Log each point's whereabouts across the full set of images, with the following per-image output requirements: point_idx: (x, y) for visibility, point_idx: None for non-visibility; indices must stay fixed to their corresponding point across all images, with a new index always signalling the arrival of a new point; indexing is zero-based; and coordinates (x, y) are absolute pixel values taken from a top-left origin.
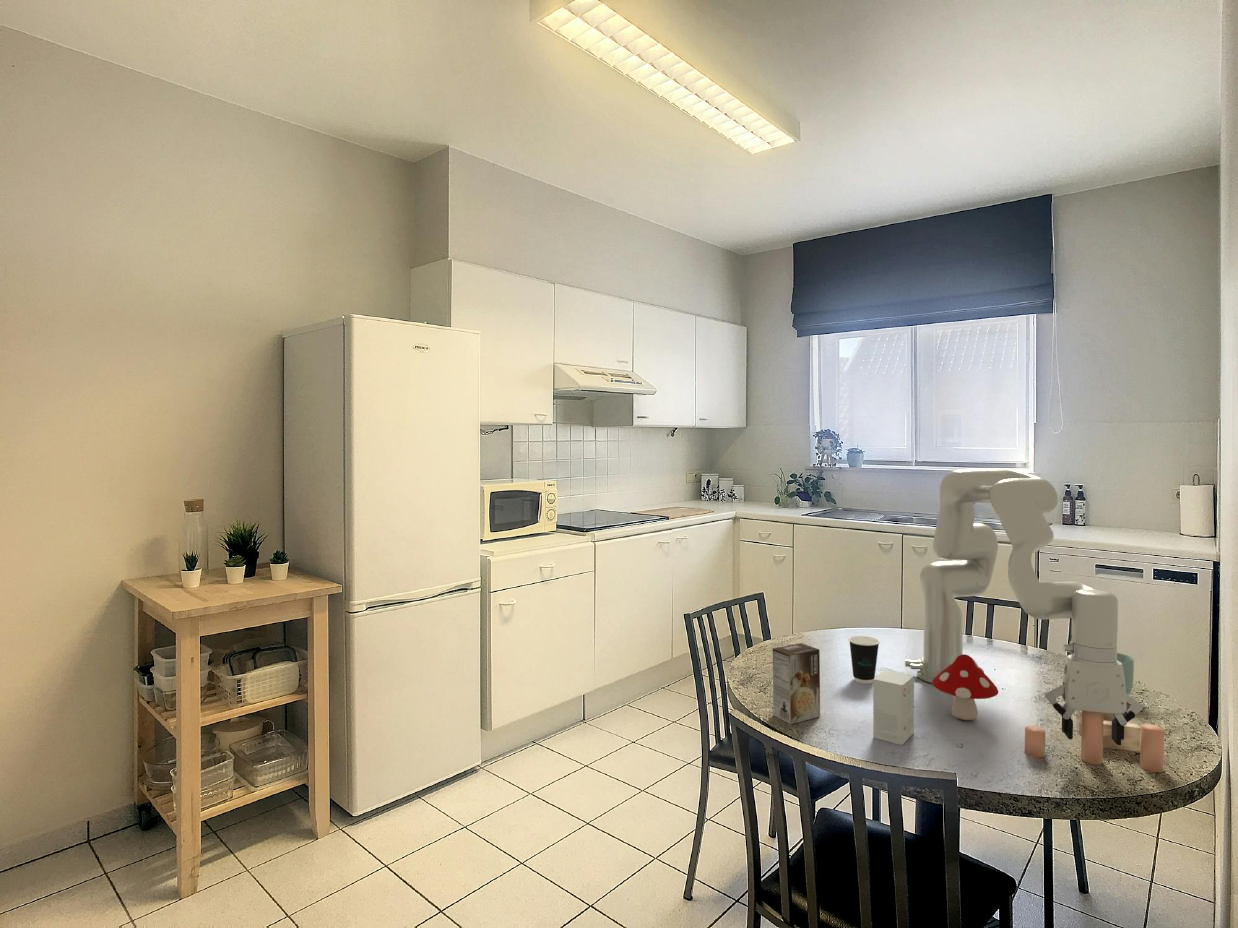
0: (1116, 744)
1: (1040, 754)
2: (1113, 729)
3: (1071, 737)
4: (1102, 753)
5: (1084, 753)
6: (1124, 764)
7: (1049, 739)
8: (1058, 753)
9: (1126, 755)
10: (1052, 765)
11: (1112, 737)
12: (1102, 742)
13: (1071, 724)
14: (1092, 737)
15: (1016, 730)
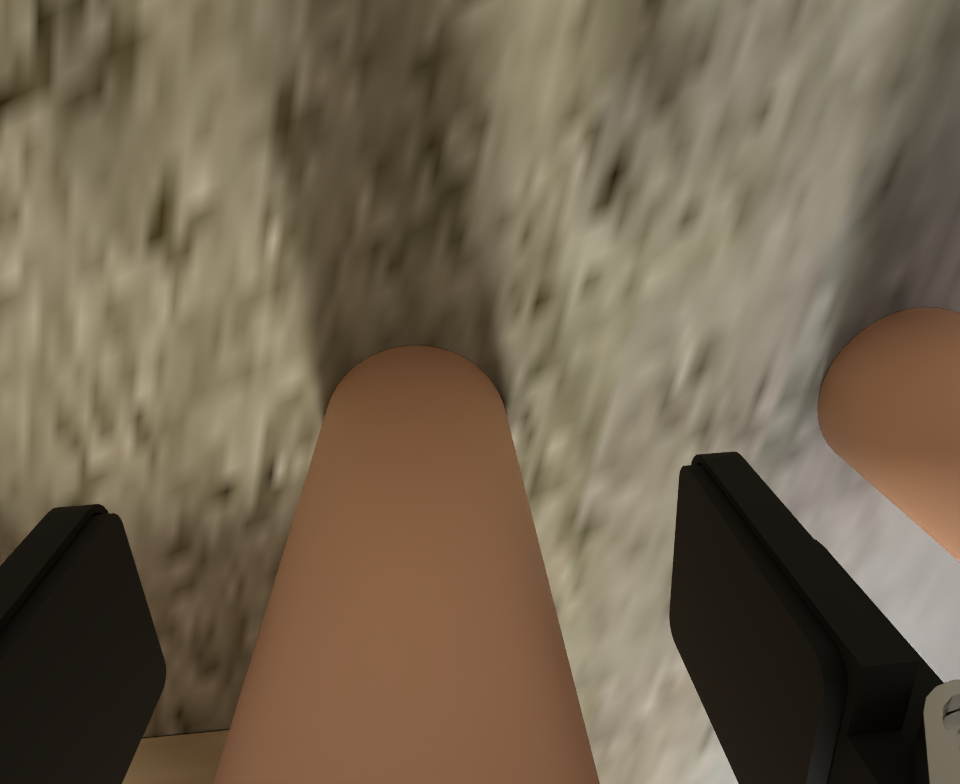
0: (160, 769)
1: (907, 323)
2: (82, 759)
3: (707, 464)
4: (317, 445)
5: (498, 417)
6: (132, 457)
7: (666, 710)
8: None
9: None
10: (842, 148)
11: (150, 667)
12: (297, 513)
13: (816, 598)
14: (436, 496)
15: None
